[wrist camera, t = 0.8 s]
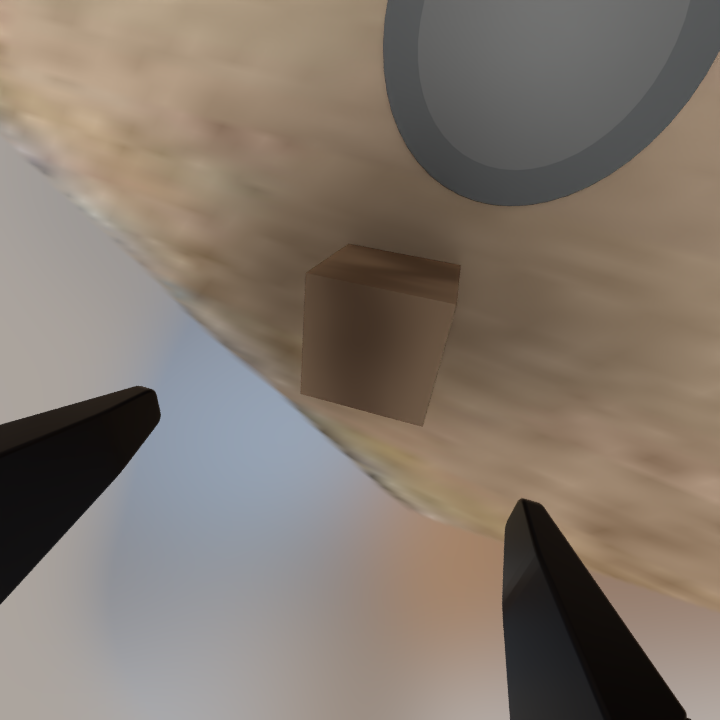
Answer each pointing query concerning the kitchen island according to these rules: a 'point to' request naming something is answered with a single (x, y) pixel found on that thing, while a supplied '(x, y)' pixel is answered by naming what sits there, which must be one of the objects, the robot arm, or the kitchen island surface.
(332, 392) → the walnut block
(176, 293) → the kitchen island surface
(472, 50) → the slate coaster
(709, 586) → the kitchen island surface
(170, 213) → the kitchen island surface
